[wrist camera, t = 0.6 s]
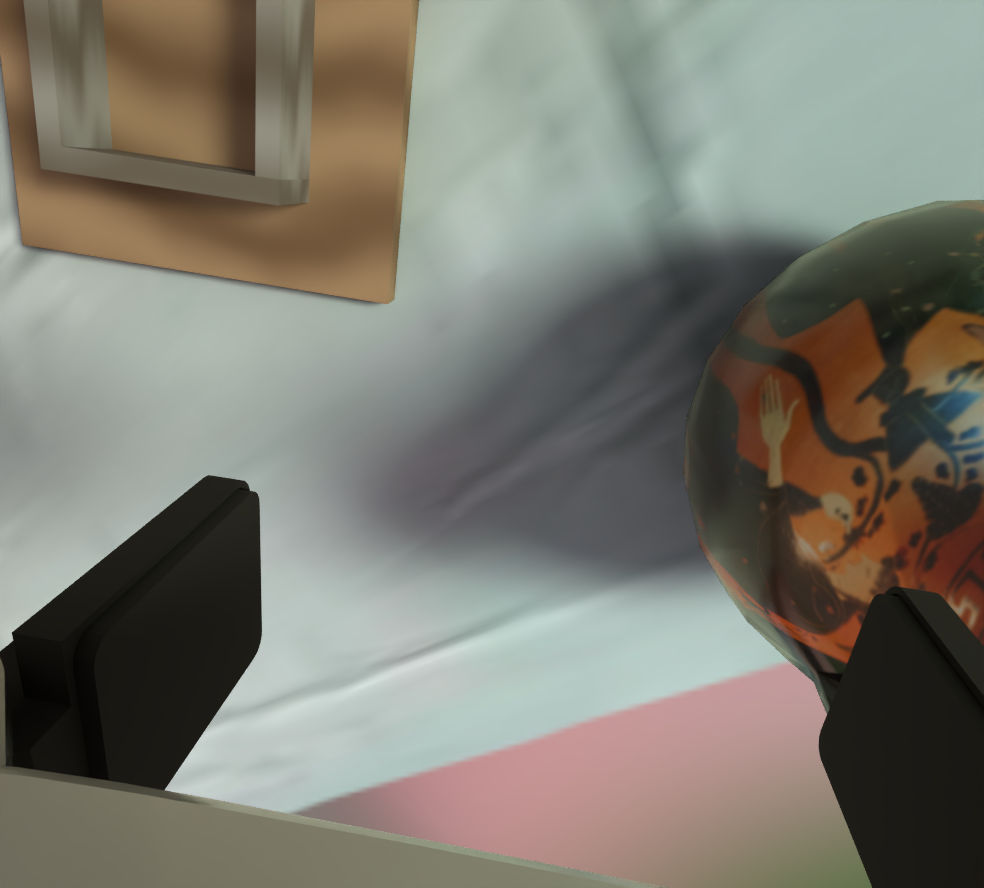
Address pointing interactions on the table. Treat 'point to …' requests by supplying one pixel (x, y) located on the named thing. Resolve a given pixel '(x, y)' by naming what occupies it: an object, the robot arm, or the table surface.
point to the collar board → (215, 135)
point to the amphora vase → (849, 436)
